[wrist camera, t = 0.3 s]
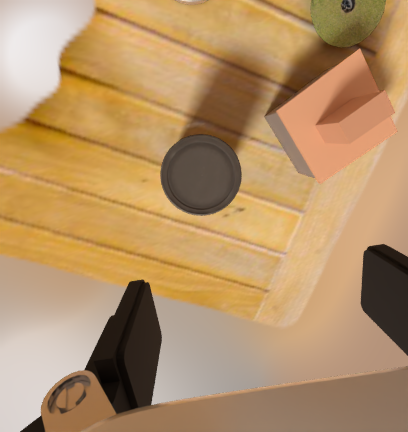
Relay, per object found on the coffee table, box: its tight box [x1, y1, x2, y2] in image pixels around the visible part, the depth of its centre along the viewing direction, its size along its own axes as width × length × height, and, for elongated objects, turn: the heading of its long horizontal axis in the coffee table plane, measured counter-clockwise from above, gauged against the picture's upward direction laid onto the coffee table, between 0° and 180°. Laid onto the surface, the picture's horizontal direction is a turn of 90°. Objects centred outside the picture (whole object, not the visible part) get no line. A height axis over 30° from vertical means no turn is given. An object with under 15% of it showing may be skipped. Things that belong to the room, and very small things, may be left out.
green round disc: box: [311, 0, 386, 47], centre depth 37 cm, size 11×11×2 cm
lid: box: [276, 49, 397, 184], centre depth 33 cm, size 13×13×7 cm
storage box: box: [265, 64, 338, 178], centre depth 39 cm, size 12×12×8 cm
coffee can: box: [160, 134, 241, 216], centre depth 38 cm, size 10×10×14 cm
